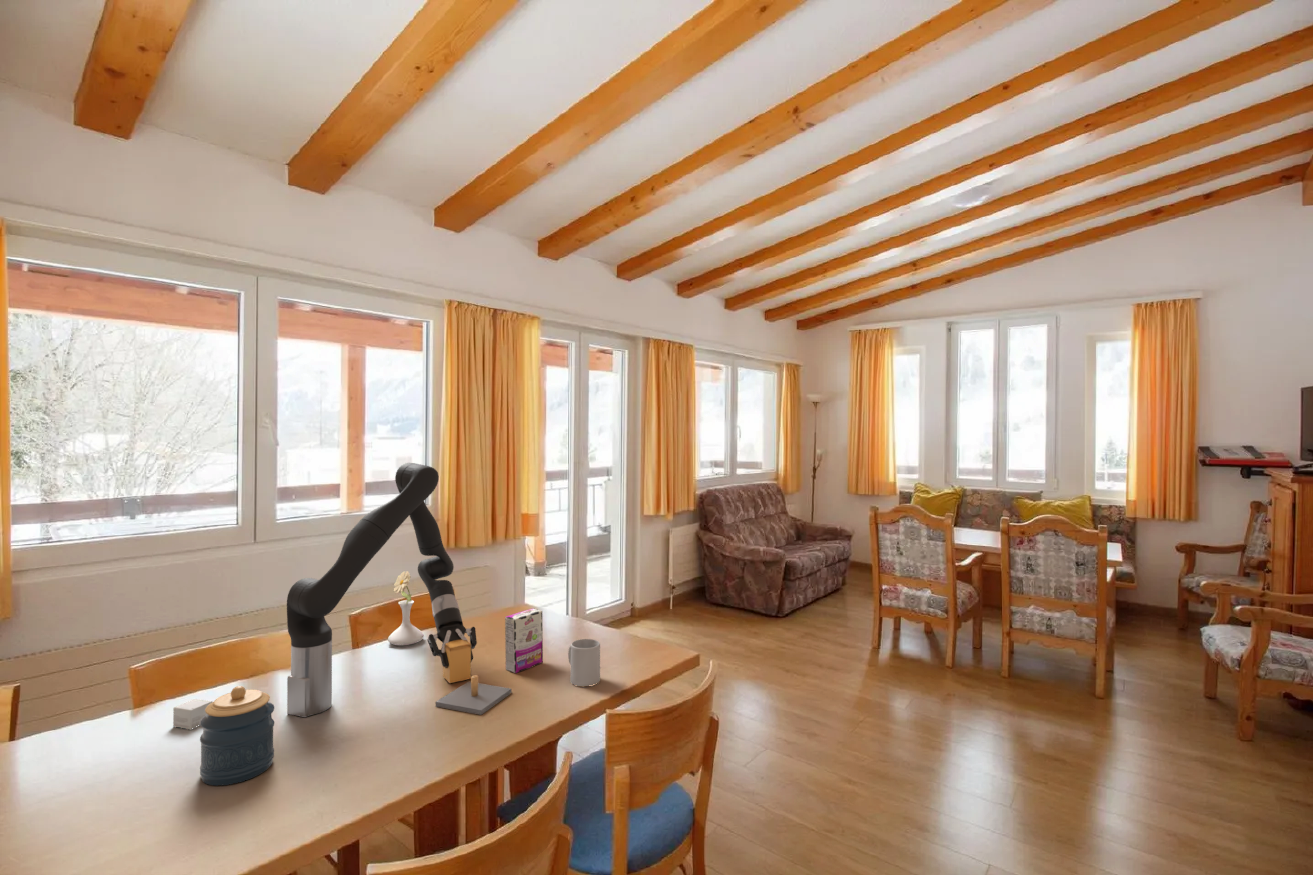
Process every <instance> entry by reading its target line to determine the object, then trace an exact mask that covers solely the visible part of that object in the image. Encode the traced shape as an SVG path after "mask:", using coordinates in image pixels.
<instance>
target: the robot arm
mask: <svg viewBox="0 0 1313 875" xmlns="http://www.w3.org/2000/svg"><path fill="white" fill-rule="evenodd" d="M439 478H440V477H439V472H438V471H437V470H436V468H434V467H432V466H430V465H426V464H425V465H424V464H419V463H415V462H405V463H403V464H401V465H400V466H399V467H398V468H397V470H396V472H395V477H394V480H395V484H396V487H397V490H398V495H396V496H395V497H394V498H392V499H391V500H389V501H388V502H385V503H384V504H382V505H380V506H378V507H376V508H374V509H373V510H371V511H370V512H368V513H367V514H366V515H364V516H363V517H362V518H361V519H360V520H359V521H358V522H357V523H356V524H355V525H354V527H353V528H352V529H351V530H350V532H349V533H348V534H347V536H346V538H345V540H344V542H343V545H342V548H341V551H340V553H339V556H338V558H337V560H336V561H335V562H334V564H333V566H331V567H330V568H329V570H327V572H326V573H324V575H323V576H321V578H319V579H317V578H312V577H311V578H310V577H305V578H301V579H299V580H298V581H296V582H295V583H293V585H292V586H291V587H290V589H289V591H288V593H287V597H286V620H287V621H286V623H287V632H288V635H289V637H290V674H289V675H288V676H287V679H286V680H287V682H286V683H287V684H286V686H287V687H286V689H287V690H286V691H287V692H286V694H287V695H286V696H287V697H286V698H287V699H286V700H287V702H286V706H287V708H286V709H287V710H286V713H287V714H288V715H291V716H292V715H293V716H297V717H302V718H307V717H309V716H312V715H317V714H321V713H323V712H325V711H327V710H329V709H330V708H331V707H332V705H333V704H332V699H333V698H332V696H333V689H332V688H333V684H332V683H333V630H332V628H331V627H330V625H329V624H328V622H327V620H326V618H325V617H326V616H327V615H329V614H330V613H331V612H332V611H334V609H335V608H336V607H337V605H338V604H339V603H340V602H341V601H342V599H343V597H344V596H345V594H346V593H347V591H348V590H349V588H350V587H351V586H352V585H353V583H354V581H355V580H356V579H357V577H358V576H359V575H360V574H361V573H362V571H363V570H364V568H366V567H367V565H368V564H369V562H371V560H372V559H373V558H374V556H375V555H376V554H378V552H380V550H381V549H382V548H383V547H384V546H385V544H386V543H387V542H388V541H389V540H390V538H391V537H392V536H393V534H394V533H395V532H396V531H397V529H399V528H400V526H402V525H403V523H404V522H405V521H406V520H407V518H408V517H409V518H410V521H411V522H412V526H413V530H414V532H415V537H416V542H417V547H418V549H419V552H420V554H421V555H422V556H427V557H429V556H431V557H429V558H425V559H423V560H421V561H420V562H419V563H418V565H417V573H418V576H419V577H420V580H422V582H423V583H424V585H425V587H426V589H427V592H428V595H429V598H430V602H431V609H432V616H433V618H434V624H435V628H436V633H434V634H433V633H430V634H429V635H428V637H427V639H426V640H427V643H428V646H429V649H430V651H431V653H432V656H433V657H440V659H441V666H442V667H445V668H448V667H449V661H448V657H447V653H446V648H445V643H448V642H449V641H455V640H460V639H461V640H467V641H468V639H467V637H469V643H470V644H471V663H472V661H473V660H474V653H473V650H474V649H475V648H476V646H477V644H478V640H477V633H476V632H477V631H476V627H475V626H472V627H470V628H469V627H468V628H466V627H465V626H464V623H463V622H464V621H463V619H462V615H461V614H462V613H461V611H460V607H459V603H458V601H457V599H456V595H455V594H456V593H455V591H454V587H453V584H452V582H451V581H450V580H447V579H442V578H447V577H449V576H451V575H452V574H453V572H454V568H455V567H454V562H453V560H452V559H451V557H450V556H449V554H448V552H447V551H446V548H445V546H444V544H443V540H442V536H441V530H440V528H439V525H438V522H437V520H436V519H435V517H434V516H433V514H432V512H431V511H430V510H429V508H428V507H427V504H426V503H425V500H426V499H428V497H429V496H431V494H433V492H434V491H435V489H436V487H438V483H439ZM432 556H433V557H432ZM466 634H467V637H466V636H465V635H466ZM437 640H438V641H440V643H442V644H441V648H439V646H438V644H437Z"/></svg>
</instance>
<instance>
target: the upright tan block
mask: <svg viewBox="0 0 1313 875" xmlns="http://www.w3.org/2000/svg"><path fill="white" fill-rule="evenodd" d="M445 648H446V653H447V657H448V661H449V667H448V668H445V667H443V666H442V667H443V668H442V670H443V671H442V672H443V673H442V676H443V678H444V679H445V680H446V681H447V682H448V684H451V683H456V682H462V681H465V680H469V679H470V680H471V676H472V674H471V669H472V668H471V666H472V662H471V644H470V641H468V639H467V640H461V639H460V640H455V641H449V642H448V643H445Z"/></svg>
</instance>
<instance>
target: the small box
mask: <svg viewBox="0 0 1313 875" xmlns="http://www.w3.org/2000/svg"><path fill="white" fill-rule="evenodd" d="M212 702H213V701H212V700H206V699H205V700H204V699H199V698H194V699H191V700H188V701H185V702H184V703H181V704H179V705H176V706H174V707H173V710H172V711H173V722H172V724H173V725H172V727H173V726H176V727H181V728H180V729H182V728H186V729H185V730H188V729H192V728H194V727H196V726H198V725H200V721H201V719H202V718H203V717H204V716H205V715H206V712H205V709H206V707H207V706H208V705H209V704H210V703H212ZM176 727H175V728H176ZM196 728H197V727H196ZM194 729H195V728H194ZM192 730H193V729H192Z"/></svg>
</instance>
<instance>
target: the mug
mask: <svg viewBox="0 0 1313 875" xmlns="http://www.w3.org/2000/svg"><path fill="white" fill-rule="evenodd" d="M567 654H568V663H569V666H570V680H569V681H570V683H572V684H574V685H577V686H589V685H593V684H596V683H598V682H599V681H601V642H600V641H599V640H596V639H591V638H581V639H576V640H574V641H572V642H571V644H570V645H569V646H568V653H567ZM599 683H600V682H599ZM599 683H598V684H599ZM572 684H571V685H572ZM574 685H573V686H574ZM577 686H576V687H577Z"/></svg>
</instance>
